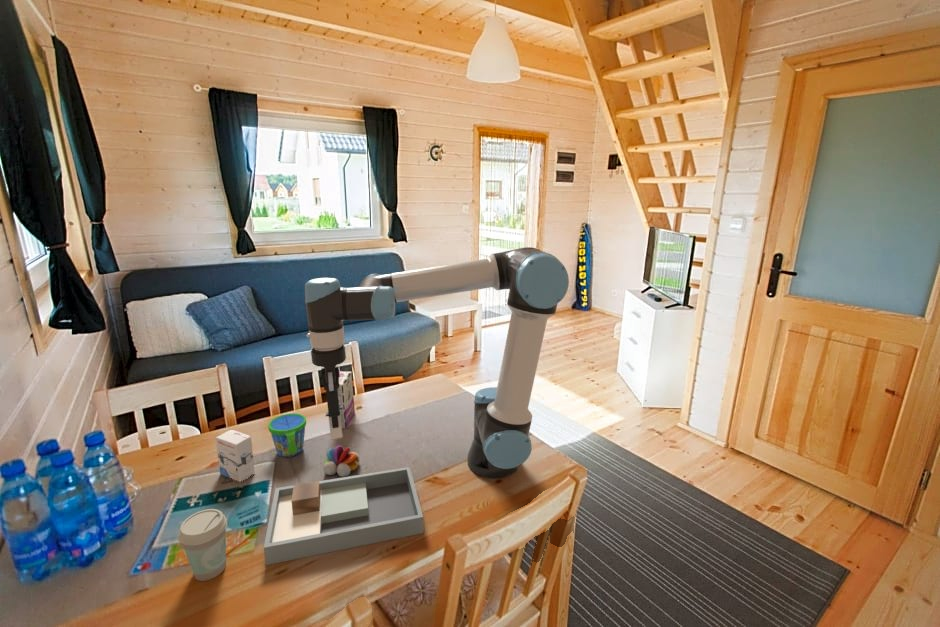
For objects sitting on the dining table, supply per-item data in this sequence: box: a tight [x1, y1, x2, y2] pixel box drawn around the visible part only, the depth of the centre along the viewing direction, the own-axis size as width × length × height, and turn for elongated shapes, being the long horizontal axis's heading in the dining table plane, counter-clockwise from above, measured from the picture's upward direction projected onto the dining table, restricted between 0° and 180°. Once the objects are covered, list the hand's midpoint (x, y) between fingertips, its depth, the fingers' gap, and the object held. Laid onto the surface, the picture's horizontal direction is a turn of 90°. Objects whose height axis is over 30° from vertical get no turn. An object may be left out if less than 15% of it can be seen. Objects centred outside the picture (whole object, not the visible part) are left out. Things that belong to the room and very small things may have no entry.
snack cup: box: [267, 412, 307, 458], centre depth 133 cm, size 16×10×10 cm
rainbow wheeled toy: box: [322, 445, 360, 478], centre depth 125 cm, size 8×10×7 cm
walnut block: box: [291, 480, 320, 515], centre depth 107 cm, size 6×6×4 cm
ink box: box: [215, 429, 255, 483], centre depth 122 cm, size 9×5×12 cm, turn 65°
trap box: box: [263, 466, 425, 566], centre depth 107 cm, size 34×20×4 cm, turn 106°
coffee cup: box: [178, 508, 228, 582], centre depth 91 cm, size 8×8×12 cm
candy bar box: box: [338, 370, 356, 430], centre depth 150 cm, size 11×5×16 cm, turn 179°
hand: (336, 436), depth 107 cm, fingers closed
